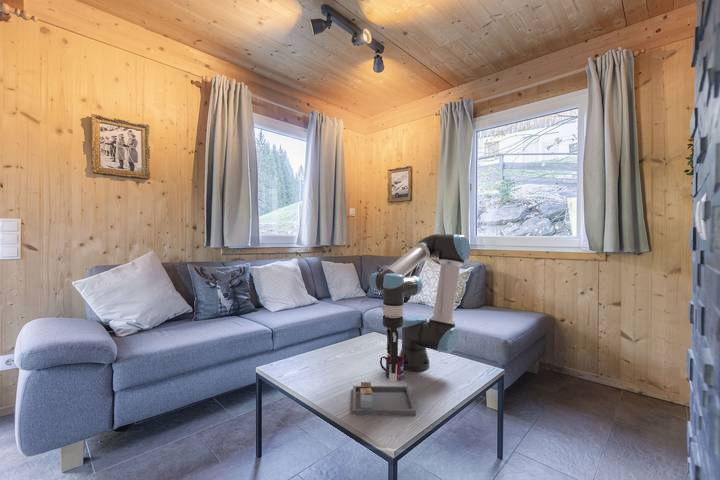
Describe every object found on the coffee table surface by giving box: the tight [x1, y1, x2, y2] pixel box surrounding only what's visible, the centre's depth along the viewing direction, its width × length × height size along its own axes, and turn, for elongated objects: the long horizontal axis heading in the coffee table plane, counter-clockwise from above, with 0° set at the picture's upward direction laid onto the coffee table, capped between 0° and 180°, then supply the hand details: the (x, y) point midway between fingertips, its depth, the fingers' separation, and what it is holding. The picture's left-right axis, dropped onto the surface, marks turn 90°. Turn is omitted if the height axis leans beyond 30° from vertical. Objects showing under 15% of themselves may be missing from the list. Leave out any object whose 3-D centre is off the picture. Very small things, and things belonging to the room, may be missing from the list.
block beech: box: [360, 388, 373, 400], centre depth 123 cm, size 4×4×4 cm
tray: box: [352, 385, 417, 416], centre depth 123 cm, size 22×18×2 cm
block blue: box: [361, 395, 373, 409], centre depth 118 cm, size 4×4×4 cm
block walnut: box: [360, 381, 372, 389], centre depth 128 cm, size 4×4×4 cm
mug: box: [379, 355, 405, 382], centre depth 124 cm, size 7×10×7 cm
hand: (391, 375), depth 123 cm, fingers closed on mug, 7 cm apart
